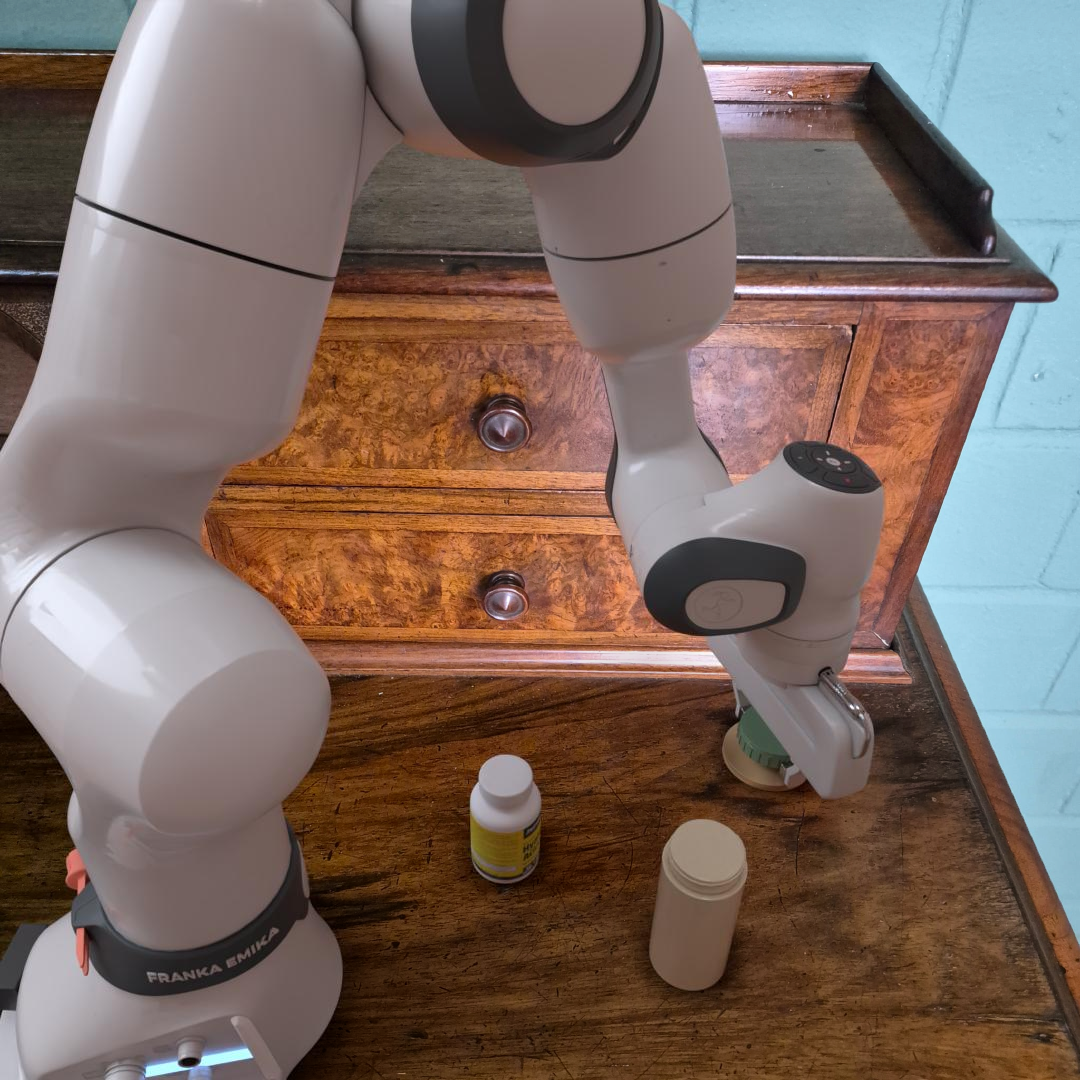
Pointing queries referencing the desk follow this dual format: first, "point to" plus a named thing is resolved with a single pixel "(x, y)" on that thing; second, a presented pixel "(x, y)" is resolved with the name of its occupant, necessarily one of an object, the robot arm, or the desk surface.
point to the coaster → (750, 766)
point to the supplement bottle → (505, 820)
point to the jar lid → (760, 740)
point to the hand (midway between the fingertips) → (767, 748)
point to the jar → (697, 904)
